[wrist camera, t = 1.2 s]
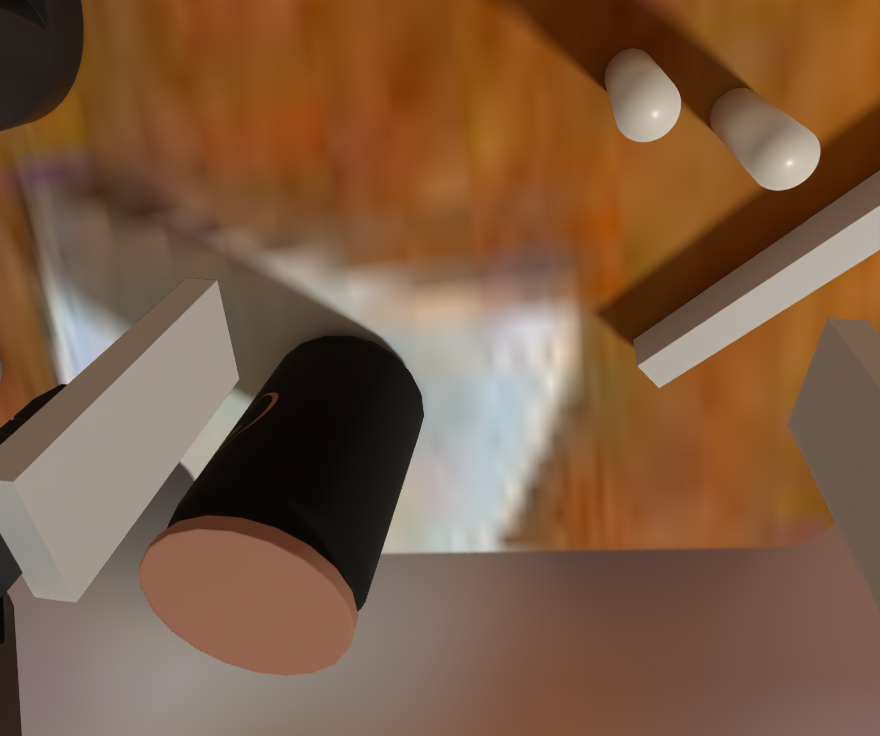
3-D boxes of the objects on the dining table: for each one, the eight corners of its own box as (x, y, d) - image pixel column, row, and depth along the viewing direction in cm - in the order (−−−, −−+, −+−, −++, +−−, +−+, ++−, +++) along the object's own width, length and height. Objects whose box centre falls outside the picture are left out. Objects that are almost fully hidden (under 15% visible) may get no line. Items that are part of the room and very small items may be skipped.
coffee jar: (301, 301, 41) (150, 493, 26) (450, 366, 42) (385, 589, 27) (266, 416, 47) (127, 626, 32) (397, 471, 48) (320, 701, 33)
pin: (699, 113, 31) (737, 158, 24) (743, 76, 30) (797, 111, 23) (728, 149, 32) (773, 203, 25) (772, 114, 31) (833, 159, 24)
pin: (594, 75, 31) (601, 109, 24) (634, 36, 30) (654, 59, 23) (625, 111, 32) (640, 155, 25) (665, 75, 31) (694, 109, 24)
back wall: (632, 340, 39) (637, 365, 36) (948, 122, 30) (982, 137, 27) (653, 361, 39) (658, 388, 37) (969, 154, 30) (1004, 171, 28)
